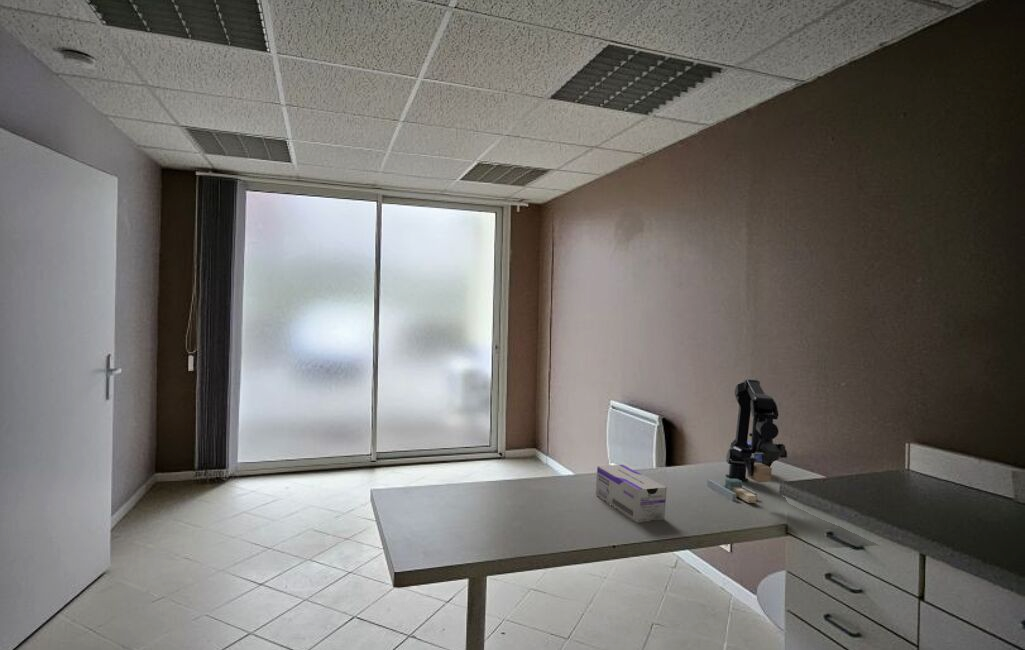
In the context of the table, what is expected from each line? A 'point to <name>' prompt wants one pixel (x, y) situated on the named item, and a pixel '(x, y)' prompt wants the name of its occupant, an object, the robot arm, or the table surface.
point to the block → (761, 473)
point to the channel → (726, 490)
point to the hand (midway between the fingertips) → (757, 475)
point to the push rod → (739, 490)
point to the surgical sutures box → (631, 492)
